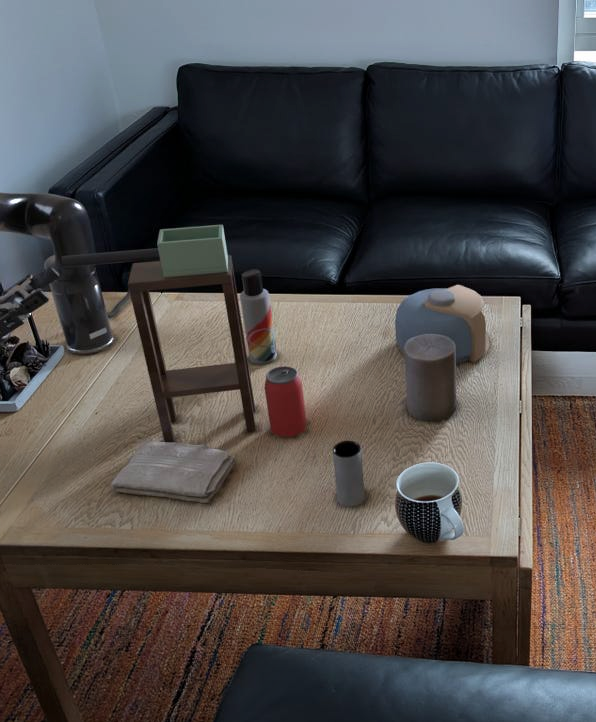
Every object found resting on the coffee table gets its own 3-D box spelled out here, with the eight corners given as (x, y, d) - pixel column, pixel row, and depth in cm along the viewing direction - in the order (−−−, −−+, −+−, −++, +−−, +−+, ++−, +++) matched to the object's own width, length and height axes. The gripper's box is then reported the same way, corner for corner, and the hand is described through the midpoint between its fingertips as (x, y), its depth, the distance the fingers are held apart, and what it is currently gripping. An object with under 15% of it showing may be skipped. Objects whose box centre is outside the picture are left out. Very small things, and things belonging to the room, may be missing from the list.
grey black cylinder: (338, 489, 139) (333, 440, 134) (365, 488, 140) (361, 439, 134) (336, 507, 136) (331, 458, 130) (364, 506, 136) (360, 456, 131)
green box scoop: (71, 271, 137) (61, 237, 134) (228, 257, 142) (222, 224, 139) (64, 286, 132) (55, 252, 129) (227, 272, 137) (222, 238, 134)
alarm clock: (495, 364, 174) (496, 313, 168) (399, 371, 171) (397, 319, 165) (481, 320, 190) (481, 272, 184) (393, 326, 188) (391, 278, 181)
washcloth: (212, 506, 135) (209, 491, 134) (108, 495, 138) (104, 480, 136) (240, 461, 146) (237, 447, 144) (143, 451, 148) (140, 437, 146)
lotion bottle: (270, 366, 172) (258, 279, 162) (244, 362, 173) (231, 276, 163) (281, 352, 177) (270, 267, 167) (256, 349, 178) (243, 264, 168)
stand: (167, 418, 156) (132, 263, 140) (255, 407, 160) (231, 254, 143) (164, 443, 150) (127, 283, 133) (255, 431, 153) (230, 274, 136)
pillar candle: (464, 400, 163) (465, 334, 155) (442, 427, 155) (441, 358, 147) (420, 388, 166) (419, 323, 158) (396, 414, 158) (393, 346, 151)
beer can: (313, 422, 156) (307, 368, 149) (295, 442, 150) (288, 387, 144) (282, 415, 157) (275, 361, 151) (264, 435, 152) (255, 380, 146)
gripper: (-63, 341, 127) (22, 284, 126) (-37, 299, 139) (41, 247, 138) (-23, 373, 131) (60, 319, 130) (-1, 330, 143) (74, 280, 142)
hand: (50, 282), depth 134 cm, fingers open, 8 cm apart
